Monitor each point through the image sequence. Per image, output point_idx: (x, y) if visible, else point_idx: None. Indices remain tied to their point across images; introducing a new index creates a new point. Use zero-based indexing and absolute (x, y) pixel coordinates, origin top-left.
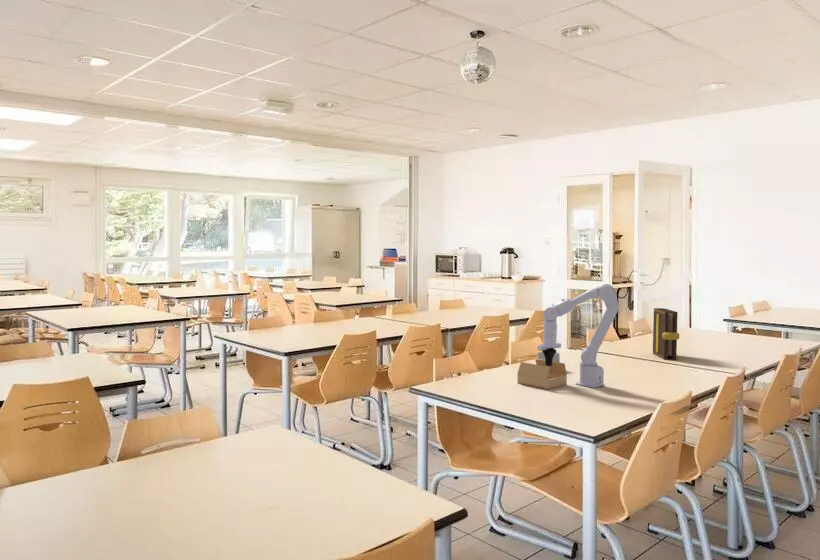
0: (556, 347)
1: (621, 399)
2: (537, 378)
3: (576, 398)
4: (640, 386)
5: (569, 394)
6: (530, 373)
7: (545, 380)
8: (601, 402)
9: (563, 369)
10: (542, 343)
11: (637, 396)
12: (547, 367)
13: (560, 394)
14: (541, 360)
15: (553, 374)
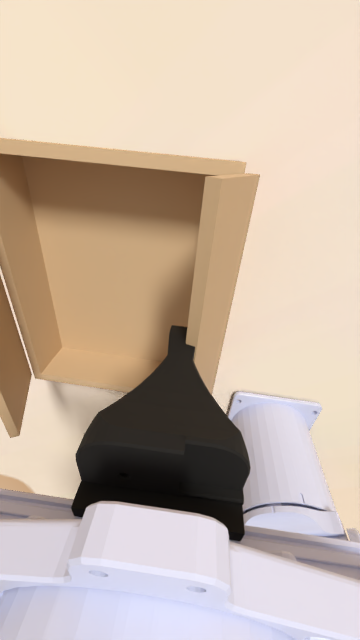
0: (356, 560)
1: None
2: (20, 321)
3: (54, 442)
4: (338, 514)
5: (74, 419)
6: None
7: (34, 364)
8: (78, 482)
9: None
10: (151, 577)
11: None
12: (7, 422)
13: (48, 401)
14: (194, 282)
15: None
